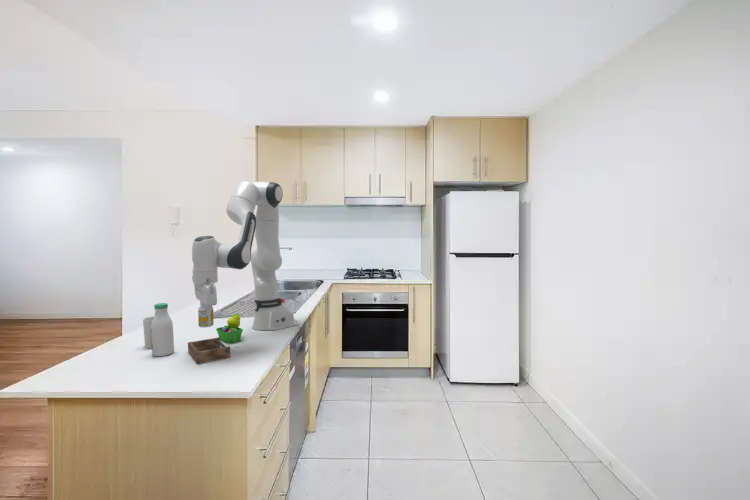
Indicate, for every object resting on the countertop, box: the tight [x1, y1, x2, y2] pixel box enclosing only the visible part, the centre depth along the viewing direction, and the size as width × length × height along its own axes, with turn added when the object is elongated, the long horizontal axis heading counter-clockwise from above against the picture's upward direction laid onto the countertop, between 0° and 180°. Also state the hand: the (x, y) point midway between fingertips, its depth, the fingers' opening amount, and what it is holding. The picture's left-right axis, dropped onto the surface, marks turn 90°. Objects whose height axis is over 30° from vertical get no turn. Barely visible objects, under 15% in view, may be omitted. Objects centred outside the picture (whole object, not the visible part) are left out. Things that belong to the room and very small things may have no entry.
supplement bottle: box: [197, 300, 215, 328], centre depth 151 cm, size 5×5×10 cm
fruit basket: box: [215, 313, 244, 344], centre depth 172 cm, size 11×9×11 cm
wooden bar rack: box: [187, 336, 231, 365], centre depth 153 cm, size 12×18×4 cm
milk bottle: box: [151, 302, 175, 357], centre depth 154 cm, size 8×8×20 cm
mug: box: [142, 315, 155, 349], centre depth 166 cm, size 10×7×12 cm, turn 1°
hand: (206, 313), depth 152 cm, fingers closed on supplement bottle, 5 cm apart
